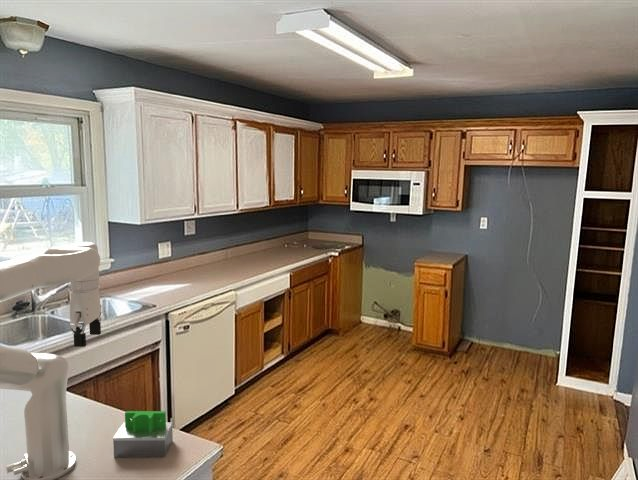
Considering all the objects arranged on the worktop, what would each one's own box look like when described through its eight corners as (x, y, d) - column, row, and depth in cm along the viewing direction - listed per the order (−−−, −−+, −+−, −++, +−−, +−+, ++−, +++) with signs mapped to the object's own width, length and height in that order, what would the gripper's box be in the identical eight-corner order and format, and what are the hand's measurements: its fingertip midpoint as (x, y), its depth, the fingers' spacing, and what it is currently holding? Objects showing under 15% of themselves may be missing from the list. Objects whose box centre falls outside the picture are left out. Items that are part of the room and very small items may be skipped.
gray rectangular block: (114, 457, 129) (113, 437, 129) (124, 441, 137) (123, 422, 136) (165, 457, 130) (164, 437, 129) (172, 441, 138) (172, 422, 137)
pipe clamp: (121, 433, 131) (121, 417, 130) (126, 425, 135) (126, 411, 134) (162, 432, 132) (161, 417, 131) (166, 425, 135) (165, 410, 135)
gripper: (86, 277, 145) (88, 330, 148) (56, 292, 128) (60, 351, 131) (110, 277, 146) (112, 330, 148) (84, 292, 128) (87, 351, 131)
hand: (88, 340), depth 140 cm, fingers open, 9 cm apart
